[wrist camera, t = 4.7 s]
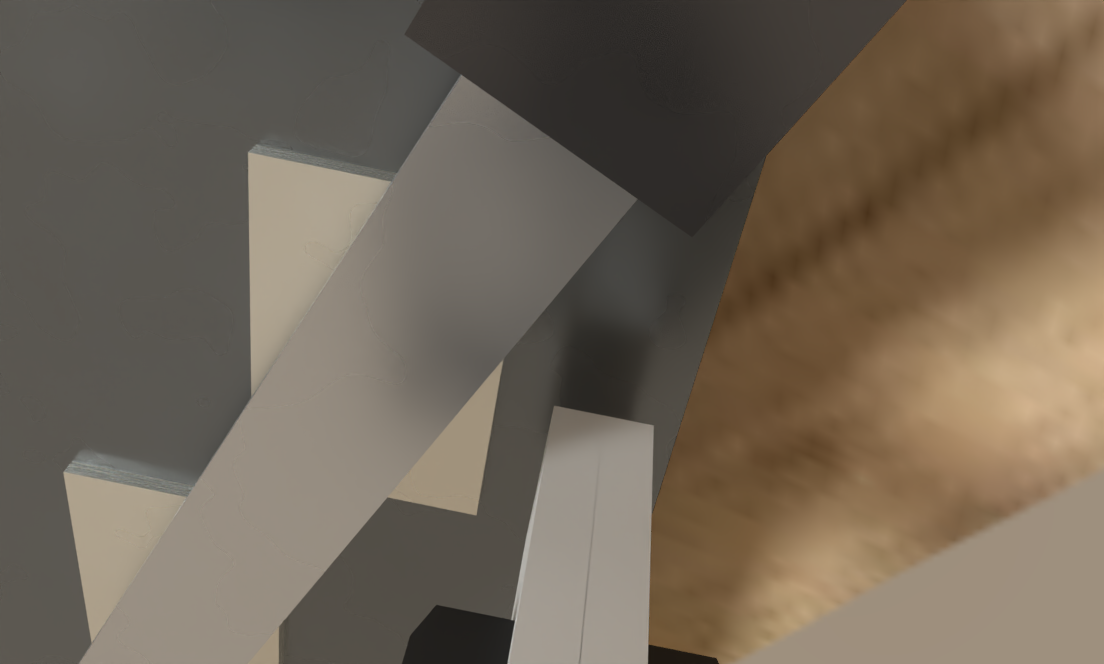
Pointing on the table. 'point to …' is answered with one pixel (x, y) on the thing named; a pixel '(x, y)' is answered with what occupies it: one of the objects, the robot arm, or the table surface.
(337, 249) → the grey flat block
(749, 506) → the table surface
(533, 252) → the cable arm
